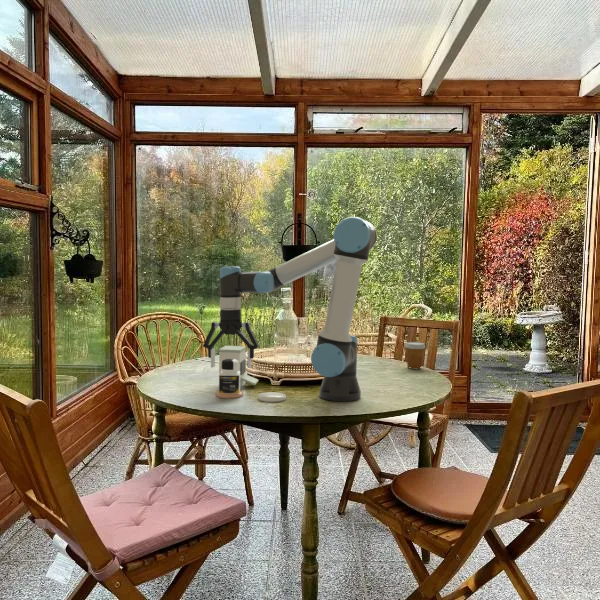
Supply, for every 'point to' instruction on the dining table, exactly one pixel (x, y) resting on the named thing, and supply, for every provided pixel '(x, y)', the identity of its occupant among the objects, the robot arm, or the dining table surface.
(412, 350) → the disposable coffee cup
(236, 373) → the medicine bottle
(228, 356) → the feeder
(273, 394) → the white domed round part
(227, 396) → the peach round disc
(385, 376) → the dining table surface
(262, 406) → the dining table surface
